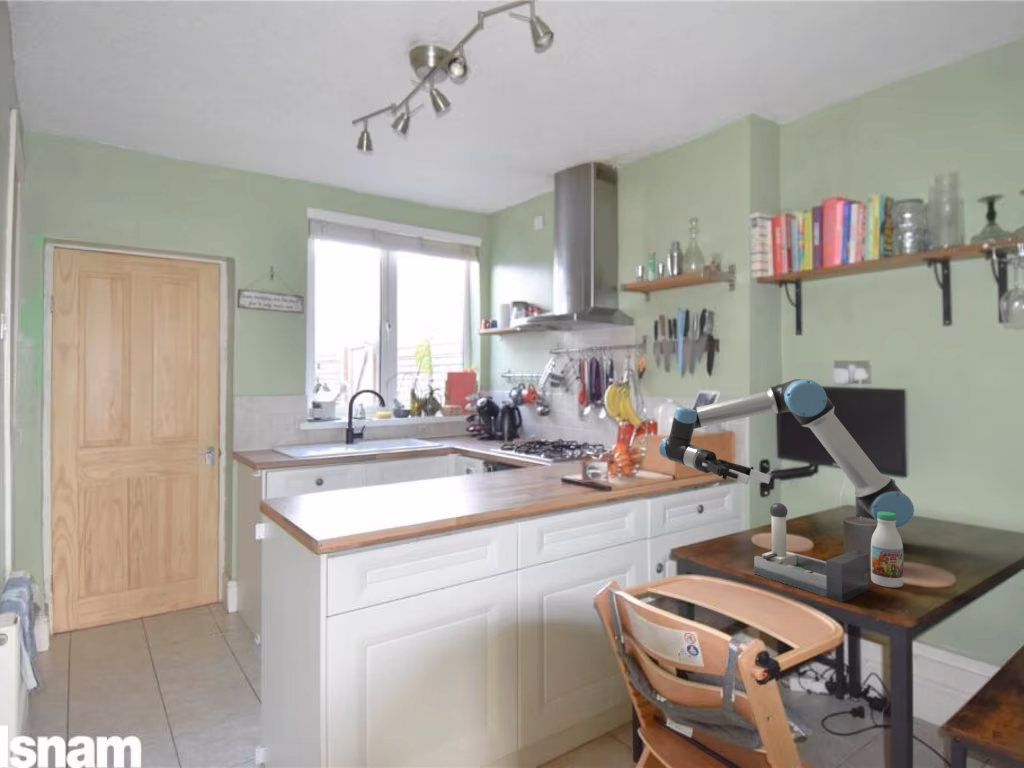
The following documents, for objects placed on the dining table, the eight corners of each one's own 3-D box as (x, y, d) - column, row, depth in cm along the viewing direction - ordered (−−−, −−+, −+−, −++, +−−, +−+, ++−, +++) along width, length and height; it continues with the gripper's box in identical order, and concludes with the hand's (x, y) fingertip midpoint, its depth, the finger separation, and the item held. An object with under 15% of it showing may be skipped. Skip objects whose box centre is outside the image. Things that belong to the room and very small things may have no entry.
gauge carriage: (755, 566, 172) (755, 504, 171) (777, 559, 178) (777, 499, 177) (774, 572, 167) (773, 508, 166) (796, 564, 173) (795, 503, 172)
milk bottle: (864, 579, 167) (864, 510, 166) (889, 577, 167) (889, 509, 167) (884, 589, 159) (883, 517, 159) (910, 587, 160) (910, 515, 159)
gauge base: (753, 573, 173) (752, 540, 173) (780, 564, 180) (780, 532, 180) (841, 602, 151) (841, 564, 151) (868, 590, 159) (868, 553, 158)
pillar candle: (837, 559, 184) (836, 512, 184) (868, 558, 184) (868, 511, 183) (854, 570, 174) (854, 520, 174) (887, 569, 174) (887, 520, 174)
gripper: (717, 469, 206) (774, 490, 189) (676, 470, 190) (735, 492, 173) (722, 449, 205) (780, 468, 189) (682, 447, 189) (741, 468, 173)
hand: (759, 480), depth 181 cm, fingers open, 13 cm apart
